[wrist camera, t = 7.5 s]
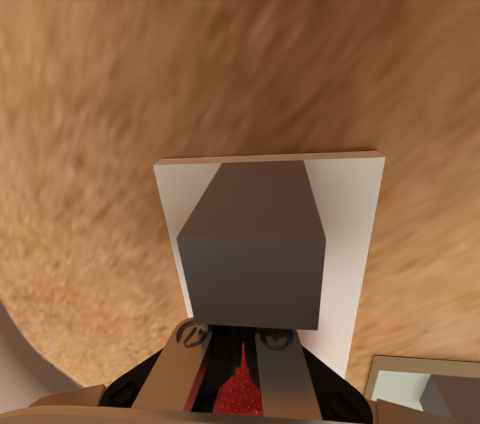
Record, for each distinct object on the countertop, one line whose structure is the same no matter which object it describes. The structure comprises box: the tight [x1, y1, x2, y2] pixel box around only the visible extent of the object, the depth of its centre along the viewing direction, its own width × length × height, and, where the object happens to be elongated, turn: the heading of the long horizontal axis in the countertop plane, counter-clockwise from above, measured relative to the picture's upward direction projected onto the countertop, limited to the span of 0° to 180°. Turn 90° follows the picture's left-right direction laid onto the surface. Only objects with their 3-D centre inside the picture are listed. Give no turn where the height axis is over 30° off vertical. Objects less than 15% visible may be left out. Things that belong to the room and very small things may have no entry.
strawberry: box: [217, 348, 263, 416], centre depth 14 cm, size 6×8×10 cm
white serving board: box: [153, 151, 386, 379], centre depth 14 cm, size 20×10×7 cm, turn 4°
